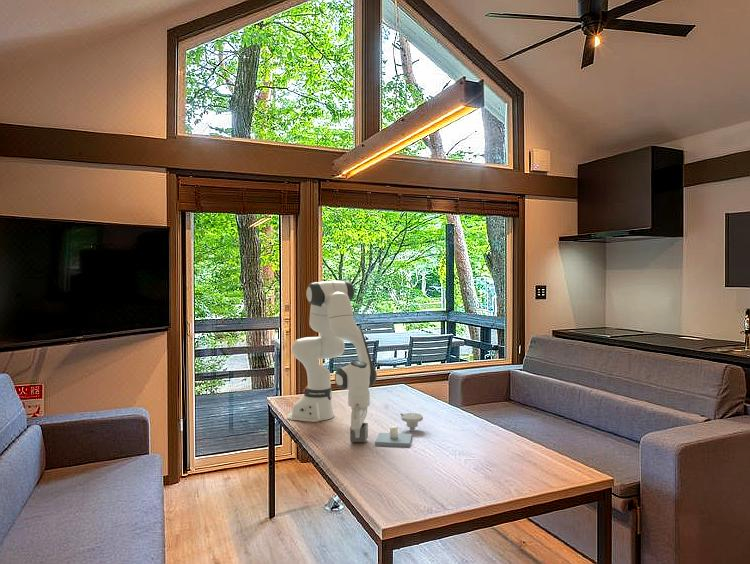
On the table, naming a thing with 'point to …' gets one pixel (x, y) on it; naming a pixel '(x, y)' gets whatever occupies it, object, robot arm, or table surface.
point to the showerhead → (412, 420)
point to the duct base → (394, 442)
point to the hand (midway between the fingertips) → (359, 434)
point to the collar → (363, 434)
